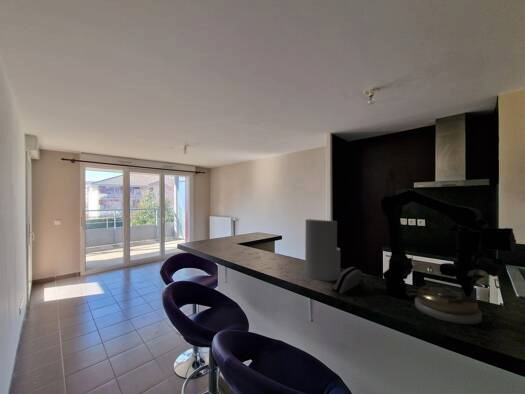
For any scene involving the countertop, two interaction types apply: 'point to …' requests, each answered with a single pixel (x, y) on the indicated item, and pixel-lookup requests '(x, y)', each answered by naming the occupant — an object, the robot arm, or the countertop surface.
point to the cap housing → (449, 314)
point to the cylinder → (322, 250)
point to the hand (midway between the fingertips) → (468, 296)
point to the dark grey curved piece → (347, 279)
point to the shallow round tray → (449, 300)
